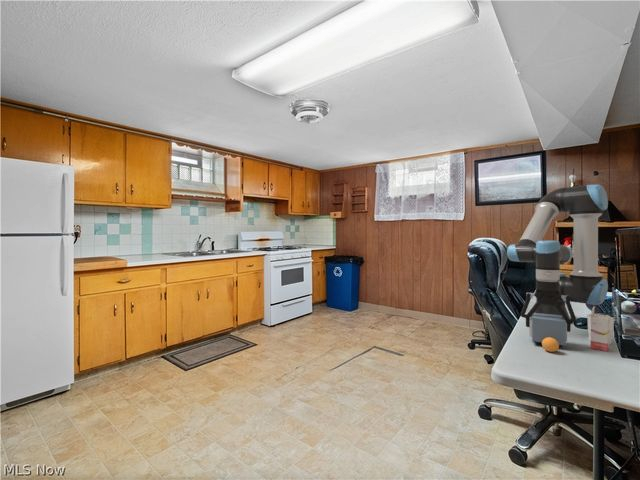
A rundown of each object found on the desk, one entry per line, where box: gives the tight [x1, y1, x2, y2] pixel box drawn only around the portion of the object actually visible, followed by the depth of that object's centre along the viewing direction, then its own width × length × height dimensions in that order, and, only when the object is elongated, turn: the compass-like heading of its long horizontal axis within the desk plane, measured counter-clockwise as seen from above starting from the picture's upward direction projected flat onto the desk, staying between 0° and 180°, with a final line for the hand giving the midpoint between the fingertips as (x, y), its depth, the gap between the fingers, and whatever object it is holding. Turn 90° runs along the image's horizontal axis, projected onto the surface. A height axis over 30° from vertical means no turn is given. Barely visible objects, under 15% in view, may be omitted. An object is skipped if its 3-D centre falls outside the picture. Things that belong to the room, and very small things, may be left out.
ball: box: [541, 337, 560, 353], centre depth 114 cm, size 5×5×5 cm
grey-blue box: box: [530, 313, 567, 347], centre depth 123 cm, size 10×10×9 cm
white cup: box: [586, 313, 615, 345], centre depth 125 cm, size 8×8×10 cm
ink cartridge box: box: [590, 305, 611, 352], centre depth 119 cm, size 9×5×15 cm, turn 134°
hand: (547, 337), depth 123 cm, fingers closed on grey-blue box, 10 cm apart
